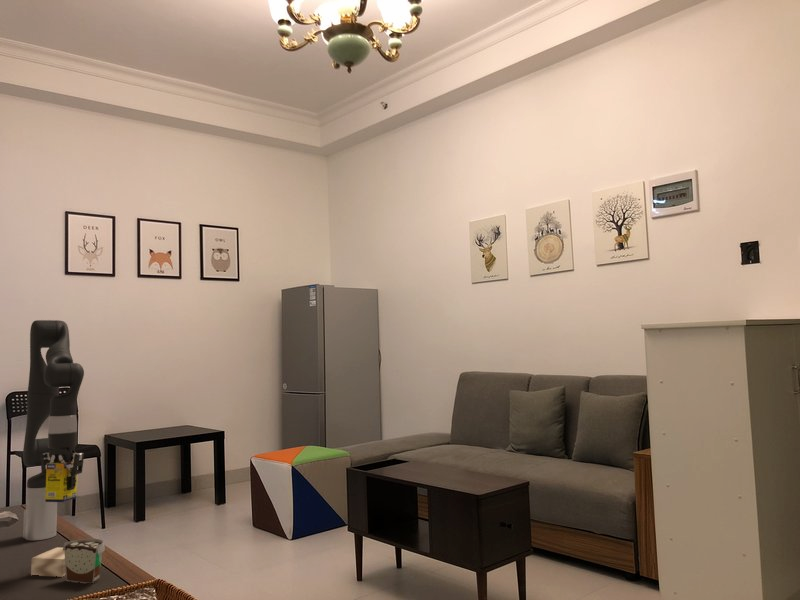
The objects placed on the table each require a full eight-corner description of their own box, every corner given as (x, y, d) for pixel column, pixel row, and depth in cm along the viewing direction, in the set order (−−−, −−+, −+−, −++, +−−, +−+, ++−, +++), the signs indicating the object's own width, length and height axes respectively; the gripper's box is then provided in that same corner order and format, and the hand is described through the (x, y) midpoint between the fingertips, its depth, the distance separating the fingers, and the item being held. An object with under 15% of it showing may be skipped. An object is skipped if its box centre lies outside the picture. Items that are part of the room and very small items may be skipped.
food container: (114, 577, 174) (115, 539, 175) (97, 584, 168) (98, 546, 169) (80, 573, 178) (80, 536, 179) (61, 580, 172) (62, 542, 173)
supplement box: (62, 502, 181) (63, 463, 182) (44, 502, 182) (45, 463, 183) (77, 498, 187) (78, 460, 188) (59, 498, 188) (60, 460, 189)
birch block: (30, 576, 177) (31, 558, 178) (56, 564, 187) (56, 547, 187) (62, 577, 175) (63, 559, 176) (86, 565, 185) (86, 548, 186)
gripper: (92, 429, 188) (91, 487, 186) (53, 429, 192) (52, 486, 190) (72, 432, 181) (71, 492, 179) (32, 432, 185) (31, 491, 183)
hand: (61, 489), depth 185 cm, fingers closed on supplement box, 6 cm apart
